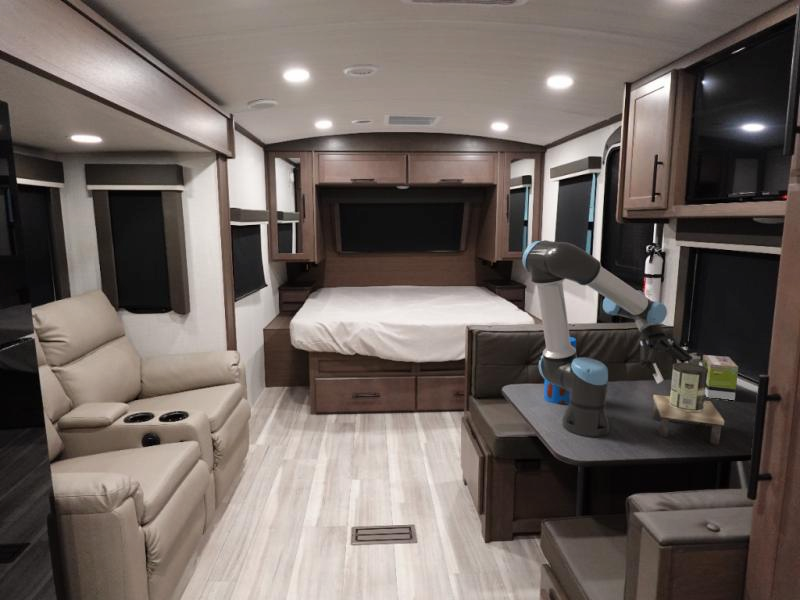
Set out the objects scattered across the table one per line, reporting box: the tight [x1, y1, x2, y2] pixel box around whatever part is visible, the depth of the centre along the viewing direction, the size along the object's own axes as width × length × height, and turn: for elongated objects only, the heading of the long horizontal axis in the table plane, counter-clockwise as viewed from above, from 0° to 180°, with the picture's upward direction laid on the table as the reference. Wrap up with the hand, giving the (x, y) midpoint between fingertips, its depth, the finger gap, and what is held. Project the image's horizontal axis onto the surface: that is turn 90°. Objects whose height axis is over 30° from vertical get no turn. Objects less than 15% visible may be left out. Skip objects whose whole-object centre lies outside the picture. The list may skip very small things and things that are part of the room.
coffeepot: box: [676, 348, 702, 365], centre depth 210 cm, size 15×9×18 cm, turn 125°
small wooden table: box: [652, 394, 725, 446], centre depth 170 cm, size 18×18×8 cm
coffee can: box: [669, 362, 708, 412], centre depth 168 cm, size 10×10×14 cm
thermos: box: [543, 336, 577, 405], centre depth 196 cm, size 11×11×25 cm
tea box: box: [701, 354, 739, 401], centre depth 206 cm, size 15×10×15 cm
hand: (677, 380), depth 174 cm, fingers open, 13 cm apart
